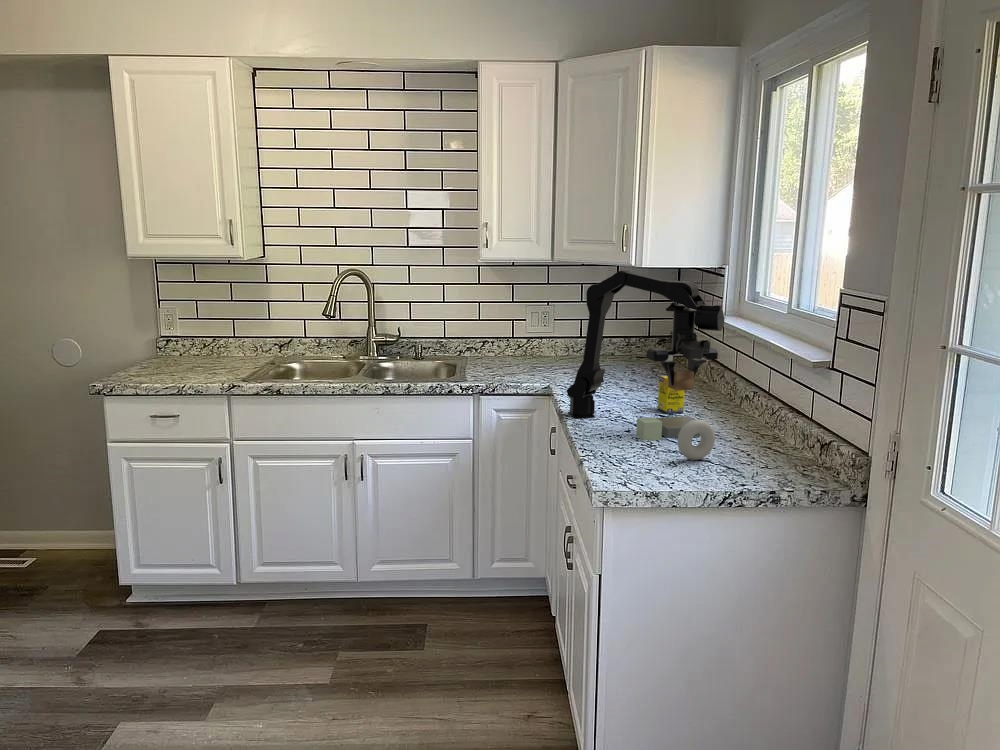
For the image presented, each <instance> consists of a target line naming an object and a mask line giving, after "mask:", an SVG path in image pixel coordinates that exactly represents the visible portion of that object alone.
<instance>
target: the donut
mask: <svg viewBox="0 0 1000 750" xmlns="http://www.w3.org/2000/svg"><path fill="white" fill-rule="evenodd" d="M697 433H699V434H700V435H701V436H700V440H699V443H698V444H697V445H695V446H694V445H693V443H692V441H693V438H694V437H695V436H694V435H695V434H697ZM715 441H716V434H715V431H714V429H713V427H712V425H711V424H710V423H709V422H707V421H706V420H702V419H695V420H692V421H690V422H688V423H687V424H685V425H684V426H683V427H682V429H681V430H680V432H679V435H678V437H677V447H678V449H679V452H680V454H681V455H682V456H683V457H685V458H687V460H689V461H691V460H692V461H698V460H702V459H704V458H706V457H707V456H708V455H709V454H710V453H711V452H712V451H713V449H714V446H715Z"/></svg>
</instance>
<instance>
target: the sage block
mask: <svg viewBox="0 0 1000 750" xmlns="http://www.w3.org/2000/svg"><path fill="white" fill-rule="evenodd" d="M656 418H657V417H637V418H636V435H635V436H636V437H637V436H638V438H639V439H640V438H641V439H640V440H642V441H643V440H644V442H645V440H648V441H662V421H660V420H658V419H656Z"/></svg>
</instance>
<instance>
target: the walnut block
mask: <svg viewBox="0 0 1000 750" xmlns="http://www.w3.org/2000/svg"><path fill="white" fill-rule="evenodd" d="M694 380H695V377H694V372H693V371H691V370H688V368H674V383H673V385H670V383H669V382H668V387H669V388H672V389H674V390H676V391H677V390H685V391H693V390H694V383H695V381H694Z"/></svg>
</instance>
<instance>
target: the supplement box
mask: <svg viewBox="0 0 1000 750" xmlns="http://www.w3.org/2000/svg"><path fill="white" fill-rule="evenodd" d="M658 378H659V380H658V397H657V398H658V399H657V410H658V411H659V410H660V412H661V411H662V412H661V413H663V412H664V413H663V414H665V413H666V414H665V415H669V414H670V413H675V414H684V404H685V391H686V390H677V391H676V390H674V389H672V388H669V387H668V382H669V380H668V377H667V375H659V377H658ZM670 415H671V414H670Z"/></svg>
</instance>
